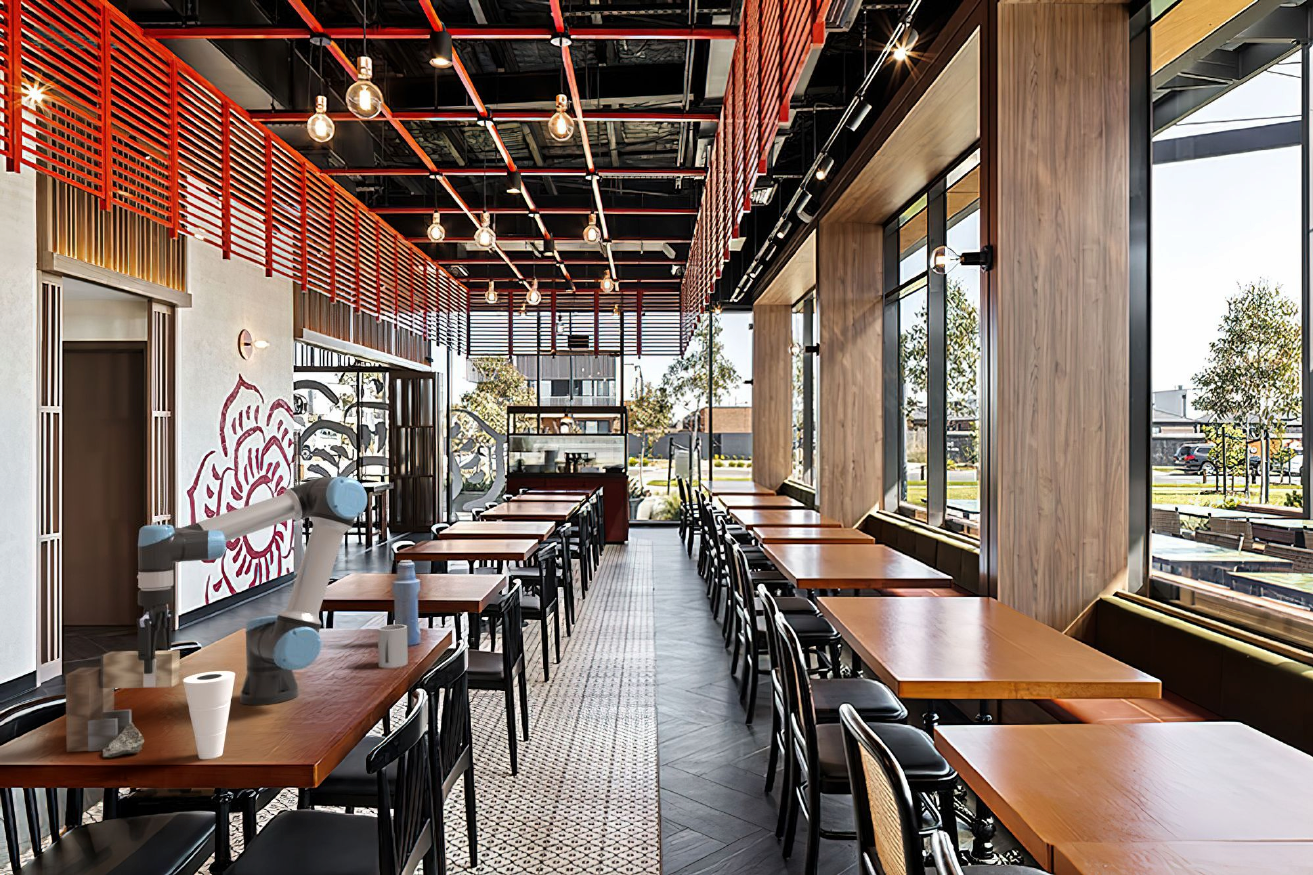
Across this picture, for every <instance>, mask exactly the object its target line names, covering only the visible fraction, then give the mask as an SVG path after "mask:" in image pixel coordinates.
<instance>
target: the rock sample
mask: <svg viewBox="0 0 1313 875" xmlns="http://www.w3.org/2000/svg"><path fill="white" fill-rule="evenodd" d="M144 742H145V739H144V737H143V735H142V734H141V732H140V731H139V729H138V728H137V727H136V725H135V724H134V723H133V722H132V721H131V723H129V724H128V725H127V726H126V727H125V729H124V730H123V731H122V733H121V734H120V735H119V736H118V737H117V738H116V739H115V740H113V741H112V742H110V744H109V745H108V746H107V747H106V748H105V749H104V750H102V757H103V758H116V757H120V756H122V755H126V754H129V755H130V754H131V755H132V754H137V753H139V752H140V751H141V750H142V746H143V744H144Z"/></svg>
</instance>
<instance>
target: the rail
mask: <svg viewBox="0 0 1313 875" xmlns="http://www.w3.org/2000/svg"><path fill="white" fill-rule="evenodd" d="M180 653H181V652H180V650H179V649H178V650H177V649H176V650H168V651H155V658H154V659H157V680H156V687H155V688H172V687H174V686H177V685H178V684H180V668H181V667H180V661H181V660H180V658H181V654H180ZM143 666H144V660H139V659H138V650H137V651H136V650H134V651H133V650H132V651H131V650H129V651H126V650H125V651H124V650H123V651H107V652H106V653H103V654H101V655H100V667H101V677H100V689H103V688H114V689H136V688H137V689H139V688H141V689H142V688H144V689H146V688H149V689H150V688H151V687H143Z"/></svg>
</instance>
